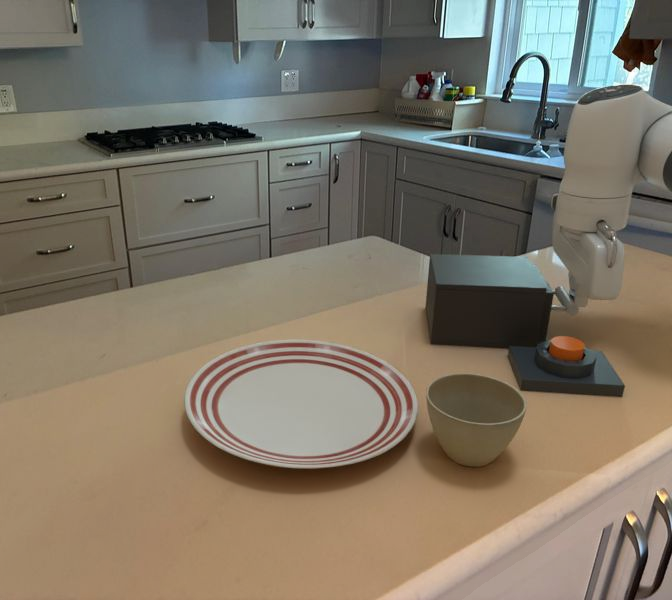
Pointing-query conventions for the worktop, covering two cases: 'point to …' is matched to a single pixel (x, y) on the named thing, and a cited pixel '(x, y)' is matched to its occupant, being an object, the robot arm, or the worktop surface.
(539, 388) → the control pad
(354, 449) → the dinner plate
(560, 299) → the drawer
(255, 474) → the worktop surface
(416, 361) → the worktop surface
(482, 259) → the dark grey box
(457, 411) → the olive beige bowl
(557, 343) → the button
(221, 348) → the worktop surface
